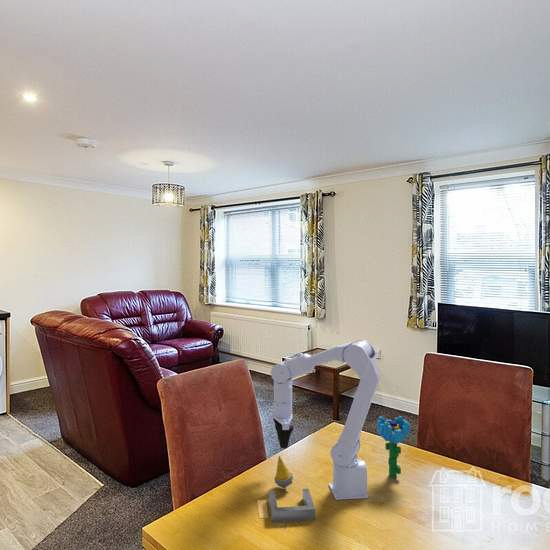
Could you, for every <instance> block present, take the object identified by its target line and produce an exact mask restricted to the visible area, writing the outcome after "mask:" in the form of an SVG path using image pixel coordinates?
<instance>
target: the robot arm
mask: <svg viewBox="0 0 550 550" xmlns="http://www.w3.org/2000/svg"><path fill="white" fill-rule="evenodd" d="M332 361H338V362H339V363H342V364H344V363H346V364H347V366H348V367H350V369H352V370H353V371H354V372H355V373H356V375H357V376H358V378H359V382H358V385H357V389H356V392H355V395H354V398H353V401H352V403H351V407H350V408H349V412H348V415H347V417H346V421H345V423H344V426H343V429H342V431H341V433H340V435H339V437H338V439H337V442H336V443H335V444H334V445H332V447H331V449H330V458H331V460H332V482H329V483H328V486H329V488H330V491H331V493H332V496H333V497H334V500H336V501H339V500H340V501H341V500H343V501H344V500H356V499H358V500H359V499H368V498H369V496H368V495H369V494H368V469H367V465H366V462H365V461H364V459H359V458H358V456H357V454H358V452H359V451H360V449H361V436H362V431H363V430H362V429H363V428H364V424H365V422H366V419H367V416H368V413H369V410H370V407H371V405H372V401H373V399H374V397H375V394H376V390H377V388H378V384H379V381H380V379H381V374H380V369H379V364H378V361H377V351H376V349H374V347H373V345H372V344H371V342H370V341H367V340H366V339H358V340H356V341H355V342H354V341H351V342H346V343H342V344H339V345H336V346H333V347H331V348H329V349H326V350H324V351H321V352H318V353H315V354H313V355H311V354H309V353H303V352H300V353H298V354H296V356H295V357H292V358H286V359H284V361H280V362H279V363H276V364H275V365H273V366H272V367H271V369H270V376H271V378H272V380H273V413H270V414H269V417H270V418H271V419H272V421H273V422H274V428H275V431H276V434H277V439H278V442H279V447H280V449H288V447H289V443H290V438H291V434H292V432H293V431H294V427H295V426H294V425H293V424H292V425H291V422H292V420H293V417H294V416H293V379H294V378H297V377H301V376H304V375H307V374H309V373H312V372H313V371H314V369H315V367H317V366H320V365H323V364H325V363H329V362H332Z"/></svg>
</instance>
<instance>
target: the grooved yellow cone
mask: <svg viewBox="0 0 550 550" xmlns="http://www.w3.org/2000/svg"><path fill="white" fill-rule="evenodd" d="M293 479H294V477H293V473H292V472H290V470H289V469H288V467H287V466H286V464H285V463H284V461H283V459H282V457H281V456H280V455H278V458H277V466H276V473H275V476H274V483H275V484H276V485H277V486H278V487H280V488H282V489H285V490H286V489H287V487H289V486H290V485H292V484H293Z"/></svg>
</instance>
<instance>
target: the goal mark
mask: <svg viewBox="0 0 550 550" xmlns="http://www.w3.org/2000/svg"><path fill="white" fill-rule="evenodd" d="M257 510H258V519H268V518H269V514H268V513H269V512H268V506H267V499H257Z"/></svg>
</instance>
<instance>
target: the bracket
mask: <svg viewBox="0 0 550 550" xmlns="http://www.w3.org/2000/svg"><path fill="white" fill-rule="evenodd" d="M302 502H303V505H298V506H297V505H296V506H281V507H280V506H279V507H278V503H277V497H276V491H275V490H273V489H272V490H268V505H269V506H268V507H269V513H270V521H271V523H272V524H274V523H291V522H294V523H295V522H306V521H316V508H315V505H314V501H313V498H312V496H311V492H310V490H309V488H302Z"/></svg>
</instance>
